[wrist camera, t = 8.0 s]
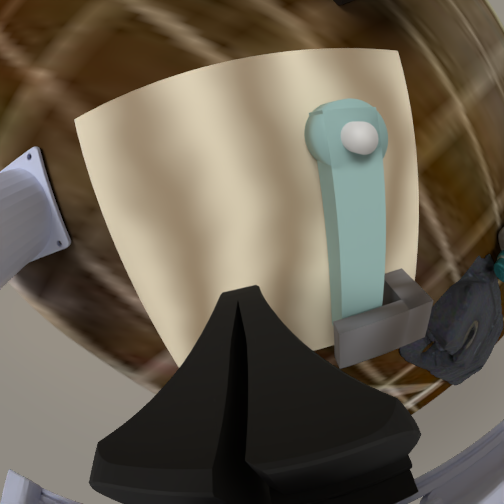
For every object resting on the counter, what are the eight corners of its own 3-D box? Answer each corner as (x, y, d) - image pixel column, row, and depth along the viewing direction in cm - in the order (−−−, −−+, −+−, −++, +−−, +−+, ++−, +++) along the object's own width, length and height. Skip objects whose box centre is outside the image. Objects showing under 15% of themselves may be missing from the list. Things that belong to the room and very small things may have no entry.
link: (298, 105, 13) (316, 99, 10) (362, 100, 13) (392, 96, 10) (325, 325, 20) (339, 356, 17) (372, 311, 20) (390, 339, 17)
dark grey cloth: (439, 386, 32) (451, 406, 28) (387, 341, 24) (407, 373, 20) (503, 321, 28) (519, 338, 23) (484, 238, 20) (513, 258, 16)
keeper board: (185, 368, 23) (179, 417, 18) (81, 119, 13) (30, 122, 8) (404, 312, 22) (433, 351, 17) (390, 53, 13) (439, 38, 8)
